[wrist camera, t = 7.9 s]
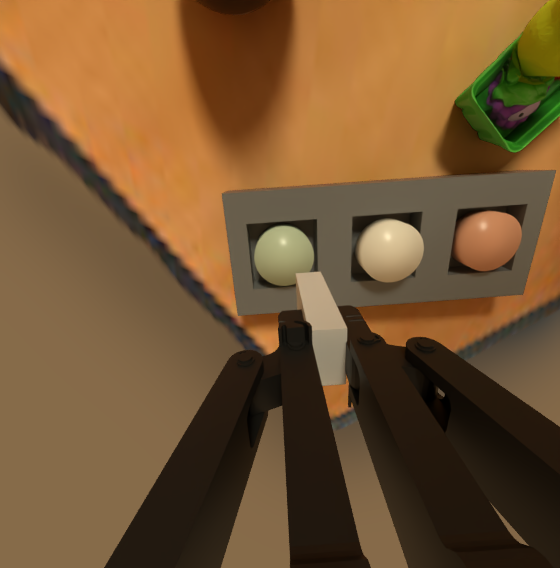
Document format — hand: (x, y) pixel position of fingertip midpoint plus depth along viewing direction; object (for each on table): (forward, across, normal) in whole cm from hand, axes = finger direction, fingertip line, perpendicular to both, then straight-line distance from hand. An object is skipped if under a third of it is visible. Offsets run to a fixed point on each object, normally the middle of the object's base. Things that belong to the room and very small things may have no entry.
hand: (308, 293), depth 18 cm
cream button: (+13, +9, -1) cm, 16 cm away
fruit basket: (+17, +21, +14) cm, 31 cm away
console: (+17, +9, -1) cm, 19 cm away
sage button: (+14, -1, -1) cm, 14 cm away
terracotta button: (+14, +20, -1) cm, 25 cm away
